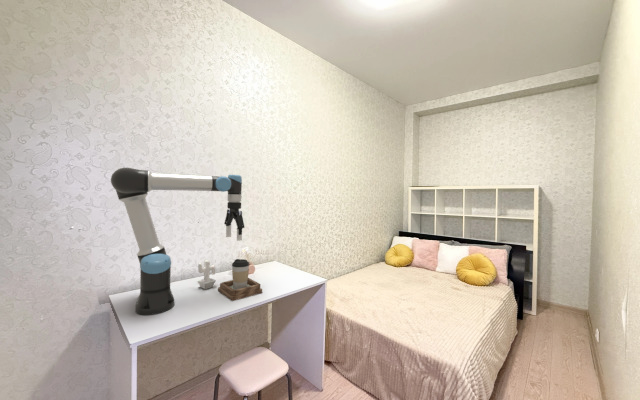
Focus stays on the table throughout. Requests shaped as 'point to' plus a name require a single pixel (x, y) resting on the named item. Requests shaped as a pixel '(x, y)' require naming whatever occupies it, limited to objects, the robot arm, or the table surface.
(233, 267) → the coffee cup
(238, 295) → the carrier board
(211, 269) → the figurine
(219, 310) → the table surface
